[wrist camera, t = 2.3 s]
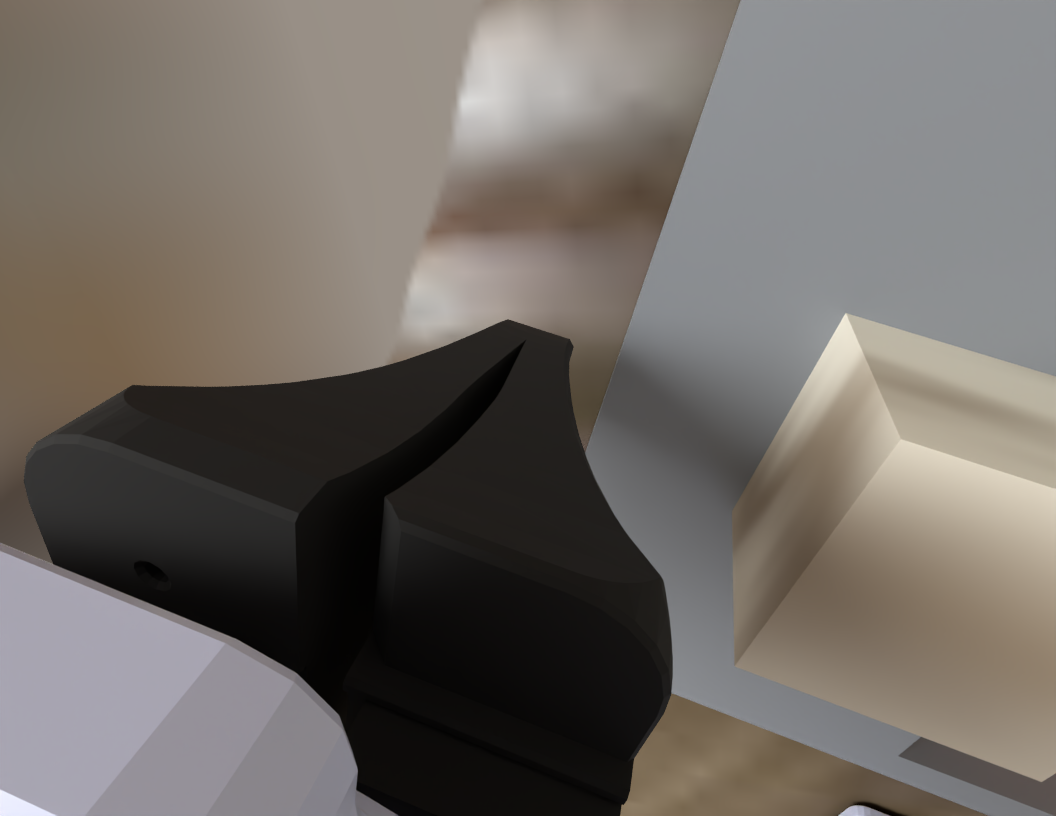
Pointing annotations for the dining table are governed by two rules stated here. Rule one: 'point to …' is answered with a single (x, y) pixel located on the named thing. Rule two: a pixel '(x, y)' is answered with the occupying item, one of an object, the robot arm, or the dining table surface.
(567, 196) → the dining table surface
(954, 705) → the cream block
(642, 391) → the board
